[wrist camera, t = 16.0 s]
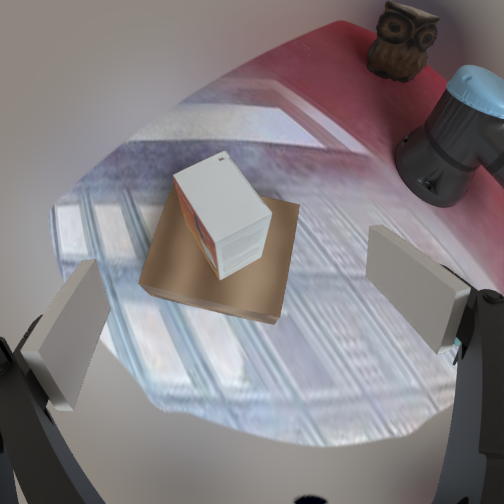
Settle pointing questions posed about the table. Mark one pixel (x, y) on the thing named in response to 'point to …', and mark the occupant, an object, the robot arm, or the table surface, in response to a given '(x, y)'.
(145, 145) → the table surface
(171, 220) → the walnut block
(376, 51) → the owl
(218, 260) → the small box
